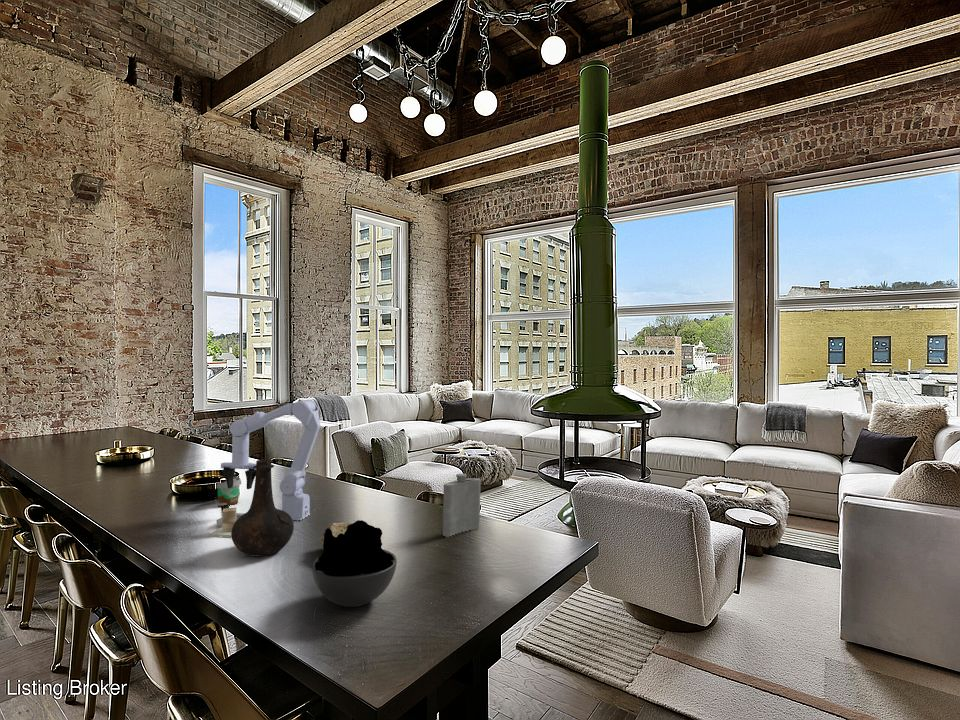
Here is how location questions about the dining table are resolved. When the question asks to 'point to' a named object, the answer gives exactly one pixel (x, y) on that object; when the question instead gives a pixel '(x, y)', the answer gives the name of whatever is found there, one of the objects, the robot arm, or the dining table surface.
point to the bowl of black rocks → (354, 565)
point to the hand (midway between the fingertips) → (239, 488)
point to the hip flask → (461, 505)
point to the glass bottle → (262, 519)
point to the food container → (228, 492)
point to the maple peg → (228, 519)
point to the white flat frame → (219, 521)
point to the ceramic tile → (220, 533)
